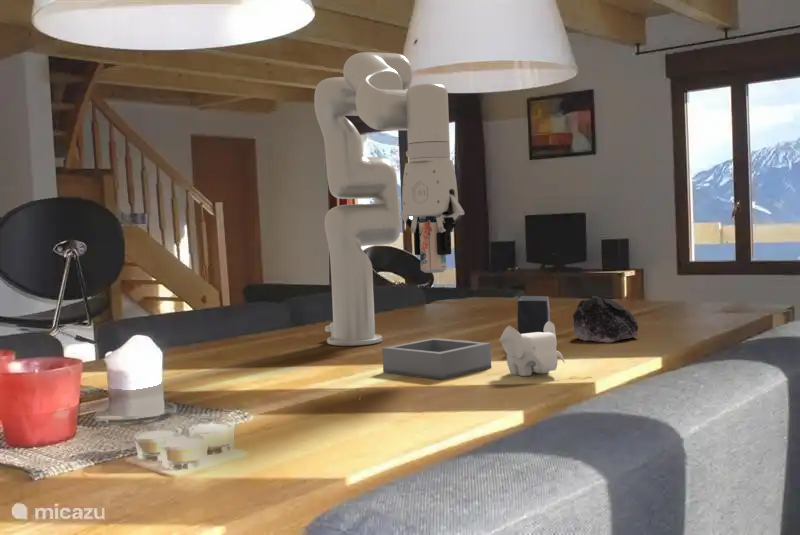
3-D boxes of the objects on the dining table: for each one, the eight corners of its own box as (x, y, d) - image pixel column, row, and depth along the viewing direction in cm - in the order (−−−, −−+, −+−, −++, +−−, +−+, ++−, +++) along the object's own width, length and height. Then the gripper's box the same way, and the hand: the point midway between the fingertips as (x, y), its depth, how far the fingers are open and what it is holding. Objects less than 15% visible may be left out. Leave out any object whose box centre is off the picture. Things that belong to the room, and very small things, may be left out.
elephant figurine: (532, 383, 143) (530, 329, 142) (491, 373, 153) (490, 323, 153) (578, 376, 147) (576, 324, 147) (535, 367, 158) (534, 318, 157)
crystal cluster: (649, 343, 186) (649, 297, 186) (592, 342, 182) (593, 295, 182) (617, 340, 198) (617, 297, 199) (563, 340, 195) (564, 295, 195)
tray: (383, 372, 158) (382, 347, 158) (433, 361, 168) (433, 338, 168) (441, 379, 148) (440, 353, 148) (491, 367, 159) (490, 343, 158)
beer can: (419, 271, 160) (416, 206, 159) (444, 270, 160) (442, 205, 160) (422, 273, 155) (419, 206, 154) (448, 272, 155) (446, 205, 155)
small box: (549, 351, 176) (547, 299, 175) (517, 351, 177) (515, 300, 176) (551, 343, 186) (549, 294, 185) (520, 343, 187) (518, 295, 187)
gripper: (381, 157, 160) (385, 255, 161) (451, 149, 148) (455, 255, 149) (408, 158, 165) (412, 253, 166) (479, 150, 153) (482, 253, 154)
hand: (432, 253), depth 157 cm, fingers closed on beer can, 4 cm apart
